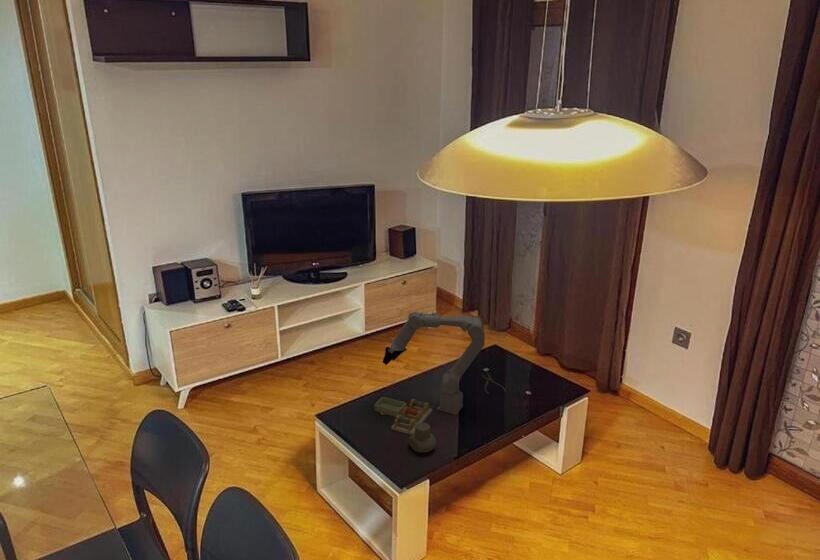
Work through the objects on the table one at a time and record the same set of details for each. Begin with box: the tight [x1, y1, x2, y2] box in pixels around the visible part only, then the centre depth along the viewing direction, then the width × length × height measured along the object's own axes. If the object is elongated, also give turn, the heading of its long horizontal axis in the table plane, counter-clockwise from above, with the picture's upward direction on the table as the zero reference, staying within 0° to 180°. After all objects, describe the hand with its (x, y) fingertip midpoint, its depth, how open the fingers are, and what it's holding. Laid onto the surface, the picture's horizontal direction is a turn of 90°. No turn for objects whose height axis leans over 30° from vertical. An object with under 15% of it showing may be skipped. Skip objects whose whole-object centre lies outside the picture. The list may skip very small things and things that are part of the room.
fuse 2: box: [409, 398, 430, 410], centre depth 267 cm, size 8×3×3 cm, turn 64°
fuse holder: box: [391, 398, 433, 436], centre depth 262 cm, size 10×20×4 cm, turn 154°
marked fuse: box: [403, 406, 422, 418], centre depth 261 cm, size 8×3×3 cm, turn 64°
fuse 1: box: [394, 415, 415, 426], centre depth 255 cm, size 8×3×3 cm, turn 64°
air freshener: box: [408, 422, 437, 453], centre depth 242 cm, size 11×8×10 cm
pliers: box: [480, 372, 507, 395], centre depth 292 cm, size 10×1×20 cm
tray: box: [373, 395, 408, 418], centre depth 269 cm, size 12×8×3 cm, turn 64°
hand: (388, 361), depth 266 cm, fingers open, 7 cm apart
